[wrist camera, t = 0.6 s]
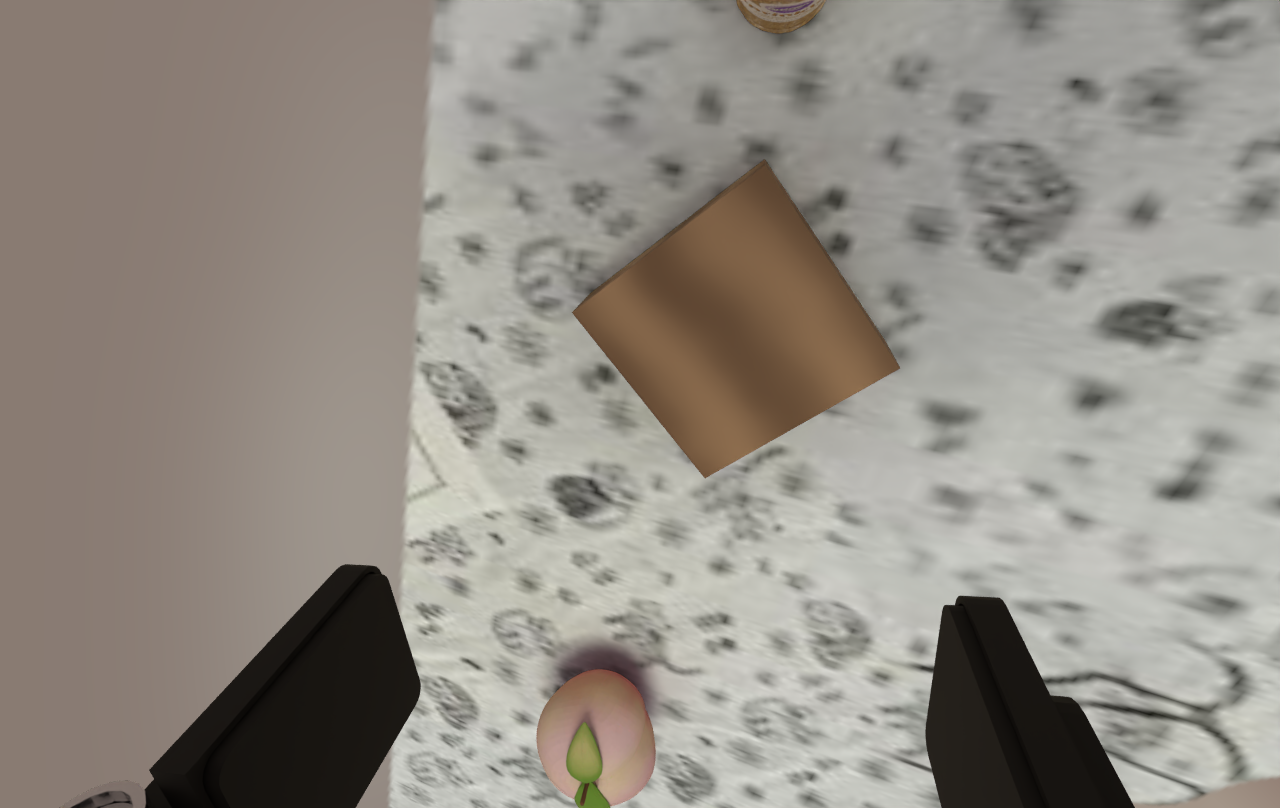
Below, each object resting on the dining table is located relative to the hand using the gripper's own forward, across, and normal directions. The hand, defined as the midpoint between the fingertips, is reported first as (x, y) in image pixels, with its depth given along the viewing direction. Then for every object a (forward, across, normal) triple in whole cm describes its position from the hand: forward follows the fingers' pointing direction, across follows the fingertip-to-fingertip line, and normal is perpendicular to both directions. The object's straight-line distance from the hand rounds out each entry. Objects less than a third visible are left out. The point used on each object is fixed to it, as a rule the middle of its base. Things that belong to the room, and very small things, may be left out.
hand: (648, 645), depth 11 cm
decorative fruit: (+27, +10, +32) cm, 43 cm away
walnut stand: (+27, 0, +2) cm, 27 cm away
